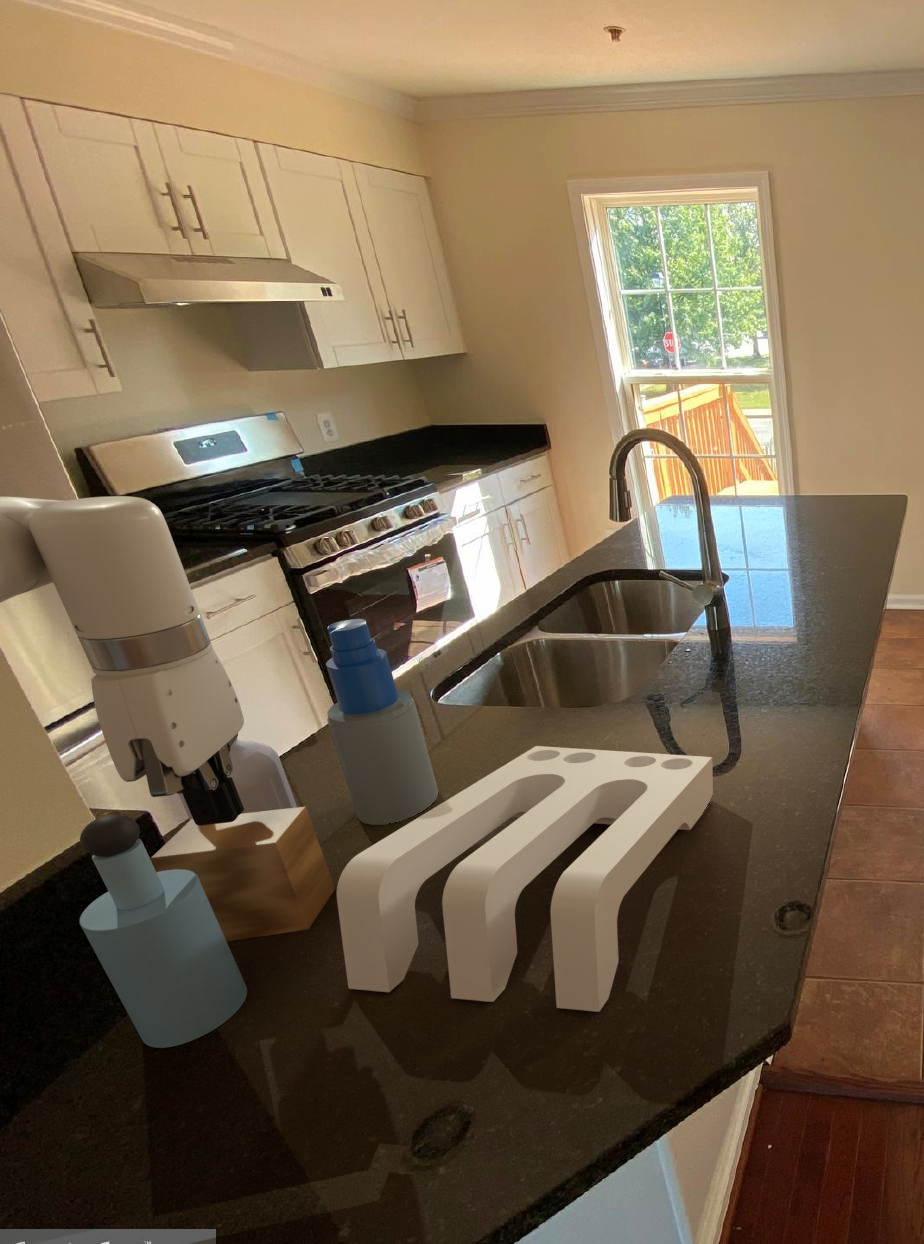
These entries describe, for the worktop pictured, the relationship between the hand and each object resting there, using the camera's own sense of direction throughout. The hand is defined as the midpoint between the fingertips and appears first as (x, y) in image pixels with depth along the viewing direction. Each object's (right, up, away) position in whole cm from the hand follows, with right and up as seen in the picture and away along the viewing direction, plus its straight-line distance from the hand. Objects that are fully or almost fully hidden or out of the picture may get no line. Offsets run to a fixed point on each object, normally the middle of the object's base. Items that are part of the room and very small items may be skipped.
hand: (220, 818), depth 68 cm
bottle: (+2, -15, -2) cm, 15 cm away
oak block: (0, -12, +6) cm, 13 cm away
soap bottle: (-12, -7, +17) cm, 22 cm away
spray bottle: (+1, -4, +24) cm, 24 cm away
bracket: (+28, -10, +12) cm, 32 cm away
